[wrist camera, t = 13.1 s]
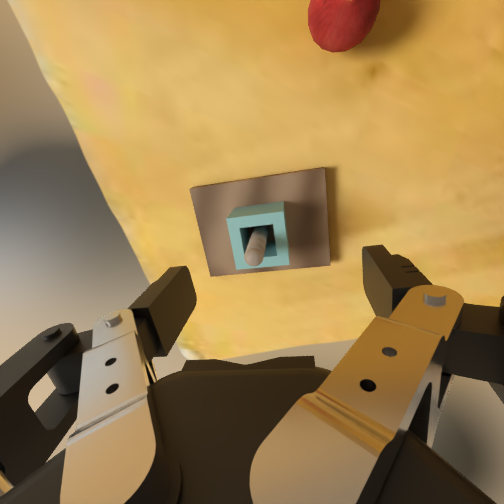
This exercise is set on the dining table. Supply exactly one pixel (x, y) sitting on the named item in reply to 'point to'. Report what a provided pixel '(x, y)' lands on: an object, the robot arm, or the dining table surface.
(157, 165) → the dining table surface
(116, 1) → the dining table surface
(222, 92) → the dining table surface
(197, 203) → the stand
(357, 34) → the onion
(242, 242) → the bead
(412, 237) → the dining table surface
